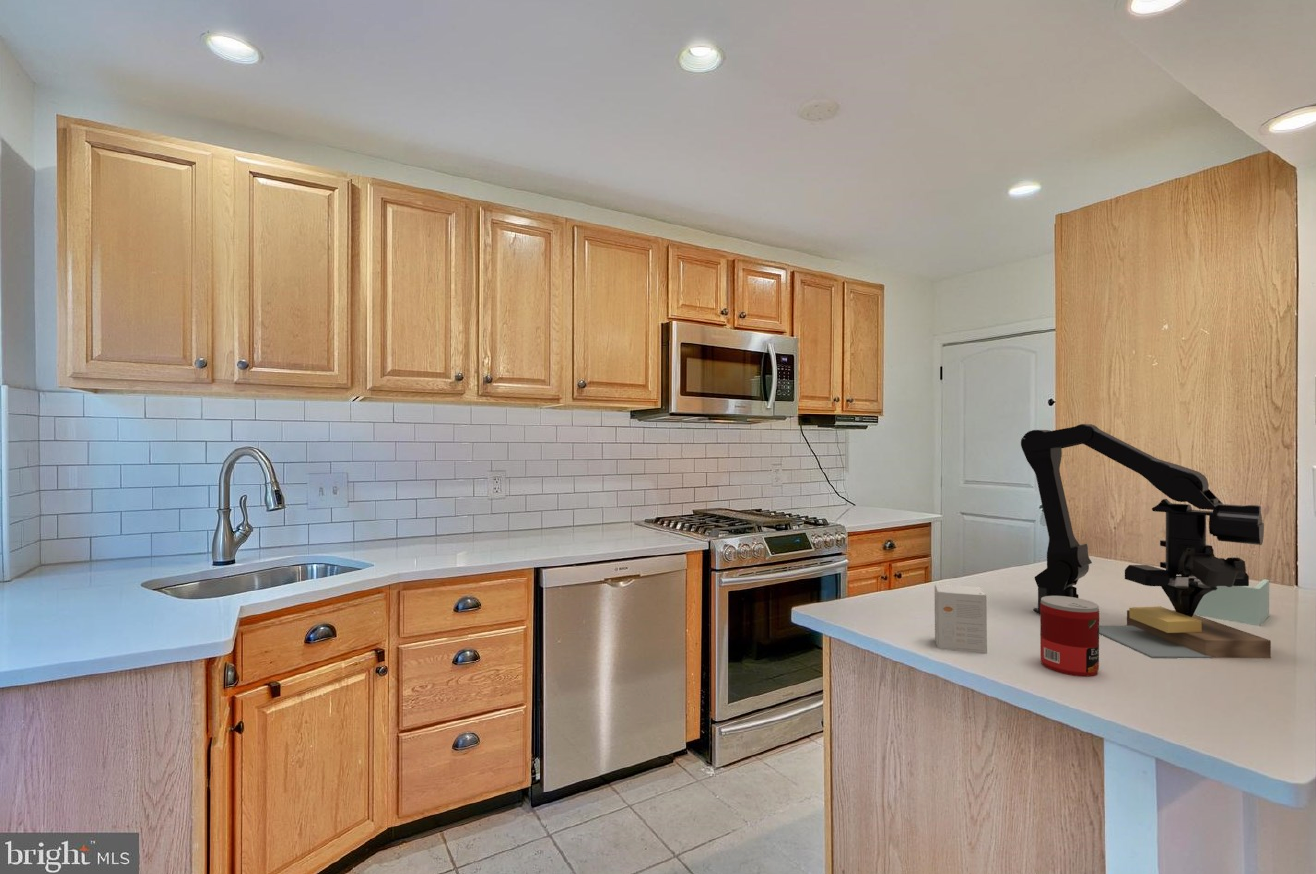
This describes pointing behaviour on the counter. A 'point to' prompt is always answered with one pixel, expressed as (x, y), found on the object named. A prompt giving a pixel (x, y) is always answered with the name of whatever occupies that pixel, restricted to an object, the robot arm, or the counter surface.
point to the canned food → (1069, 635)
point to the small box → (961, 618)
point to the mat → (1147, 642)
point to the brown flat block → (1214, 640)
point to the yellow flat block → (1165, 619)
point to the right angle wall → (1237, 603)
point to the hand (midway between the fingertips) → (1185, 621)
